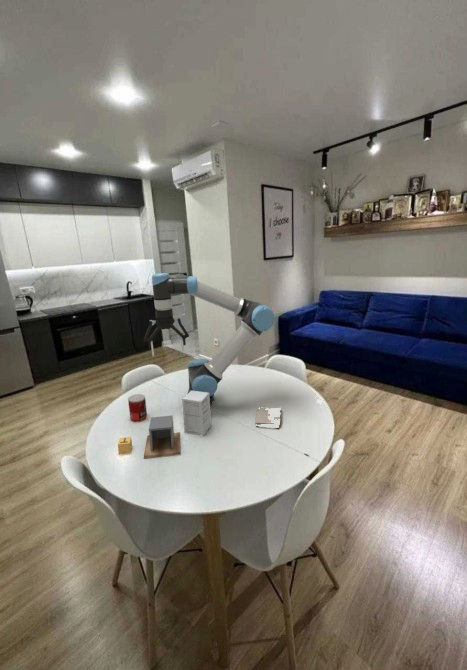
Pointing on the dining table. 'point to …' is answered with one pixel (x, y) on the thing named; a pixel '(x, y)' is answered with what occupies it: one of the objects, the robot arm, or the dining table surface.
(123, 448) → the letter cube
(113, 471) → the dining table surface
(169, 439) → the walnut board
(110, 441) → the dining table surface
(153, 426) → the grey box with opening
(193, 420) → the supplement box
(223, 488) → the dining table surface
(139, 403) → the canned food
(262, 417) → the washcloth
